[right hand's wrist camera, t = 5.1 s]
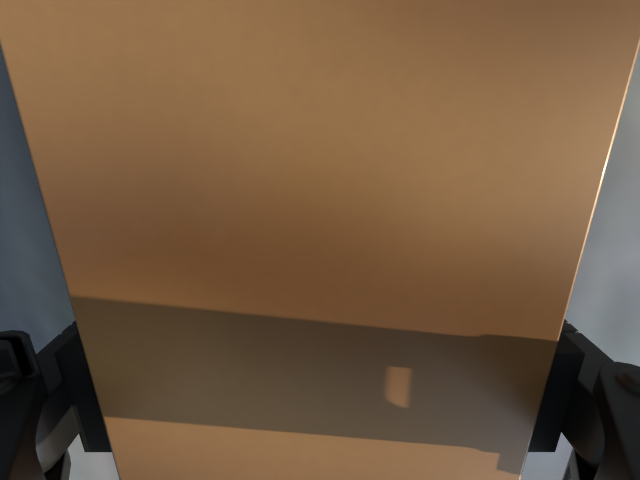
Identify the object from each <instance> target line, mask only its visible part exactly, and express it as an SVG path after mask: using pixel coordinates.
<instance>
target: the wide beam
mask: <svg viewBox="0 0 640 480" xmlns="http://www.w3.org/2000/svg"><path fill="white" fill-rule="evenodd" d="M0 47H1V51H2V55H3V58H4V62H5V65H6V69H7V73H8V76H9V80H10V84H11V87H12V91H13V94H14V98H15V102H16V105H17V109H18V113H19V116H20V120H21V123H22V127H23V131H24V134H25V138H26V142H27V145H28V149H29V152H30V156H31V160H32V163H33V167H34V171H35V174H36V178H37V181H38V185H39V189H40V192H41V196H42V200H43V203H44V207H45V210H46V214H47V218H48V221H49V225H50V229H51V232H52V236H53V240H54V243H55V247H56V250H57V254H58V258H59V261H60V265H61V269H62V272H63V276H64V279H65V283H66V287H67V290H68V294H69V298H70V301H71V305H72V308H73V312H74V316H75V319H76V323H77V327H78V330H79V334H80V337H81V341H82V345H83V348H84V352H85V356H86V359H87V363H88V366H89V370H90V374H91V377H92V381H93V385H94V388H95V392H96V395H97V399H98V403H99V406H100V410H101V414H102V417H103V421H104V424H105V428H106V432H107V435H108V439H109V443H110V446H111V450H112V454H113V457H114V461H115V464H116V468H117V472H118V475H119V479H120V480H520V478H521V474H522V471H523V467H524V464H525V460H526V456H527V453H528V449H529V445H530V442H531V438H532V435H533V431H534V427H535V424H536V420H537V417H538V413H539V409H540V406H541V402H542V398H543V395H544V391H545V388H546V384H547V380H548V377H549V373H550V369H551V366H552V362H553V359H554V355H555V351H556V348H557V344H558V340H559V337H560V333H561V330H562V326H563V322H564V319H565V315H566V311H567V308H568V304H569V301H570V297H571V293H572V290H573V286H574V282H575V279H576V275H577V272H578V268H579V264H580V261H581V257H582V253H583V250H584V246H585V243H586V239H587V235H588V232H589V228H590V224H591V221H592V217H593V214H594V210H595V206H596V203H597V199H598V195H599V192H600V188H601V185H602V181H603V177H604V174H605V170H606V166H607V163H608V159H609V156H610V152H611V148H612V145H613V141H614V137H615V134H616V130H617V127H618V123H619V119H620V116H621V112H622V108H623V105H624V101H625V98H626V94H627V90H628V87H629V83H630V80H631V76H632V72H633V69H634V65H635V61H636V58H637V54H638V51H639V47H640V0H0Z"/></svg>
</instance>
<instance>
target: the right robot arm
mask: <svg viewBox="0 0 640 480" xmlns="http://www.w3.org/2000/svg"><path fill="white" fill-rule="evenodd" d="M561 432H562V433H563V435H564V436H565V437H566V439H567V440H568V441H569V443H570V444H571V445H572V447H573V449H572V452H571V455H570V458H569V461H568V464H567V467H566V470H565V473H564V476H563V479H562V480H640V367H638V366H635V365H632V364H627V363H621V362H614V361H613V360H612V359H610V358H609V357H608V356H607V355H606V354H605V353H604V352H602V351H601V350H600V349H599V348H598V347H597V346H595V345H594V344H593V343H592V342H591V341H590V340H588V339H587V338H586V337H585V336H584V335H583V334H581V333H578V330H577V329H576V328H574V327H573V326H572V325H571V324H568V321H566V320H565V319H564V322H563V326H562V330H561V333H560V337H559V340H558V344H557V348H556V351H555V355H554V359H553V362H552V366H551V369H550V373H549V377H548V380H547V384H546V388H545V391H544V395H543V398H542V402H541V406H540V409H539V413H538V417H537V420H536V424H535V427H534V431H533V435H532V438H531V442H530V445H529V449H528V452H555V450H556V447H557V444H558V440H559V437H560V434H561ZM78 434H79V435H80V438H81V441H82V445H83V448H84V451H85V452H112V450H111V446H110V443H109V439H108V435H107V432H106V428H105V424H104V421H103V417H102V414H101V410H100V406H99V403H98V399H97V395H96V392H95V388H94V385H93V381H92V377H91V374H90V370H89V366H88V363H87V359H86V356H85V352H84V348H83V345H82V341H81V337H80V334H79V330H78V327H77V323H76V320H75V321H74V322H73V323H72V325H70V326H68V327H67V328H66V329H65V330H64V331H63V332H62V334H61V335H58V336H57V337H56V338H55V339H53V340H52V341H51V342H50V343H49V344H48V345H47V346H45V347H44V348H43V349H42V350H41V351H40V352H38V353H37V354H35V351H34V348H33V345H32V342H31V339H30V336H29V334H27V333H25V332H24V331H14V330H11V331H3V332H0V480H69V474H70V467H71V461H70V455H69V452H68V449H67V448H68V447H69V446H70V444H71V443H72V442H73V440H74V439H75V438H76V436H77V435H78Z"/></svg>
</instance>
